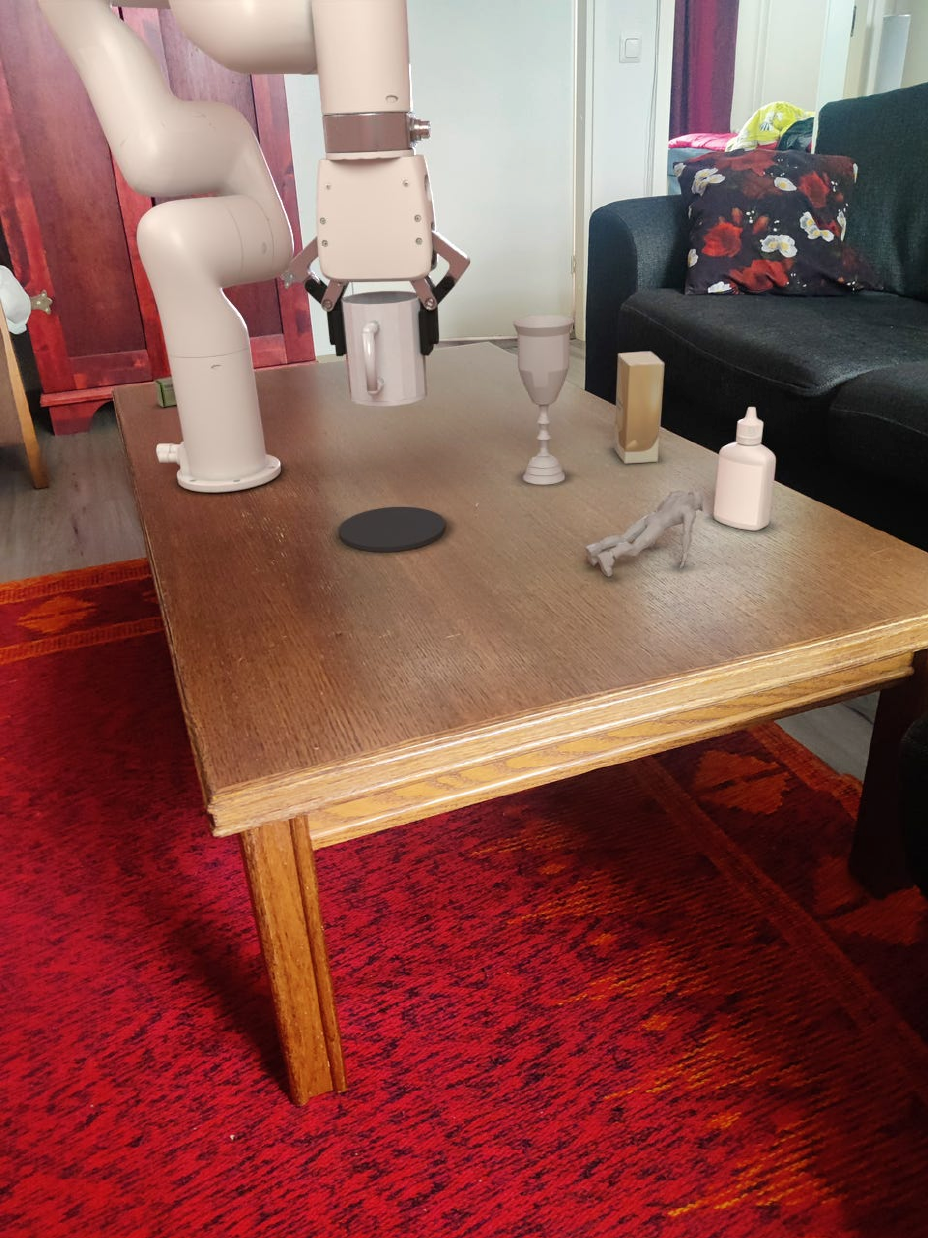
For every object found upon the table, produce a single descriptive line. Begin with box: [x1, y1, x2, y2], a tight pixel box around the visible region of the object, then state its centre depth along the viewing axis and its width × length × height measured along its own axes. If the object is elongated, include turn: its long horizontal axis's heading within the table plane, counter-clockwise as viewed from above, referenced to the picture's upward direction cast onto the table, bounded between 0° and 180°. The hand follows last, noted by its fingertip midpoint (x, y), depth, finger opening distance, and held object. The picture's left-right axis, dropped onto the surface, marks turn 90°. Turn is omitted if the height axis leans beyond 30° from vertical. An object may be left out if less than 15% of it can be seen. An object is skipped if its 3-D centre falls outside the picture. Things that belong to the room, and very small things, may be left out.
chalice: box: [512, 314, 575, 485], centre depth 109 cm, size 7×7×18 cm
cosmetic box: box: [613, 351, 665, 465], centre depth 116 cm, size 6×4×12 cm
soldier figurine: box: [584, 490, 705, 578], centre depth 89 cm, size 6×5×12 cm
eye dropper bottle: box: [713, 406, 777, 532], centre depth 95 cm, size 4×6×12 cm
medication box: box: [153, 376, 177, 409], centre depth 152 cm, size 12×3×4 cm, turn 126°
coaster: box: [338, 506, 447, 553], centre depth 100 cm, size 11×11×1 cm
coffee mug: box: [341, 290, 428, 408], centre depth 86 cm, size 10×7×9 cm
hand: (385, 351), depth 88 cm, fingers closed on coffee mug, 7 cm apart
